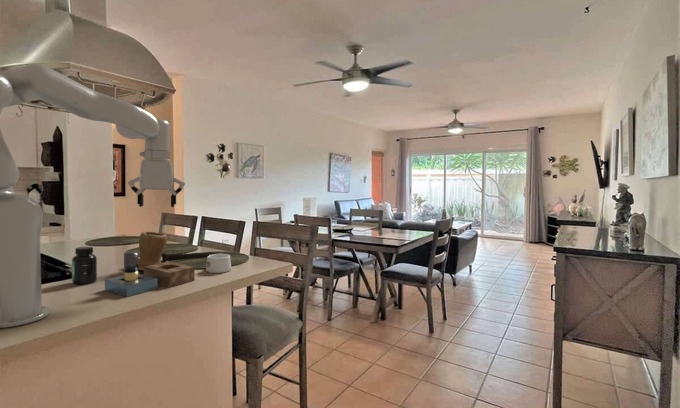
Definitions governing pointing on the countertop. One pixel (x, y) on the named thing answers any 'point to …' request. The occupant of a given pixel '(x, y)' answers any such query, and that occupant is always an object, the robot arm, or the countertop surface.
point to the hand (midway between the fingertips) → (157, 206)
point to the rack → (170, 273)
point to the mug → (218, 263)
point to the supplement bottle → (84, 266)
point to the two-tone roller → (130, 266)
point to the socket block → (130, 285)
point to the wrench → (183, 256)
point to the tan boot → (151, 248)
